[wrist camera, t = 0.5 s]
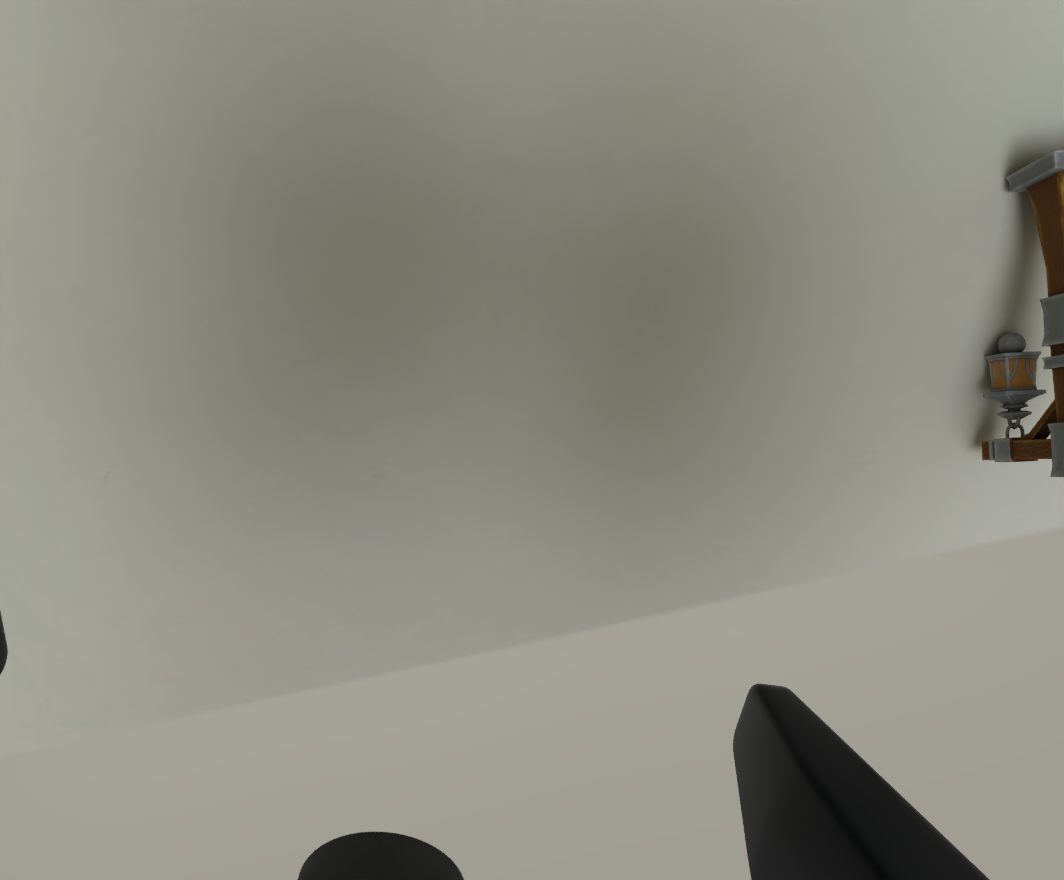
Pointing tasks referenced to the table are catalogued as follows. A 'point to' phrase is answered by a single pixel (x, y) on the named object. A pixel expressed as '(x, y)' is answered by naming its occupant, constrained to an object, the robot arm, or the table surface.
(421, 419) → the table surface
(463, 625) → the table surface
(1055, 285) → the wooden post with brackets
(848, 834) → the robot arm
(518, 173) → the table surface
